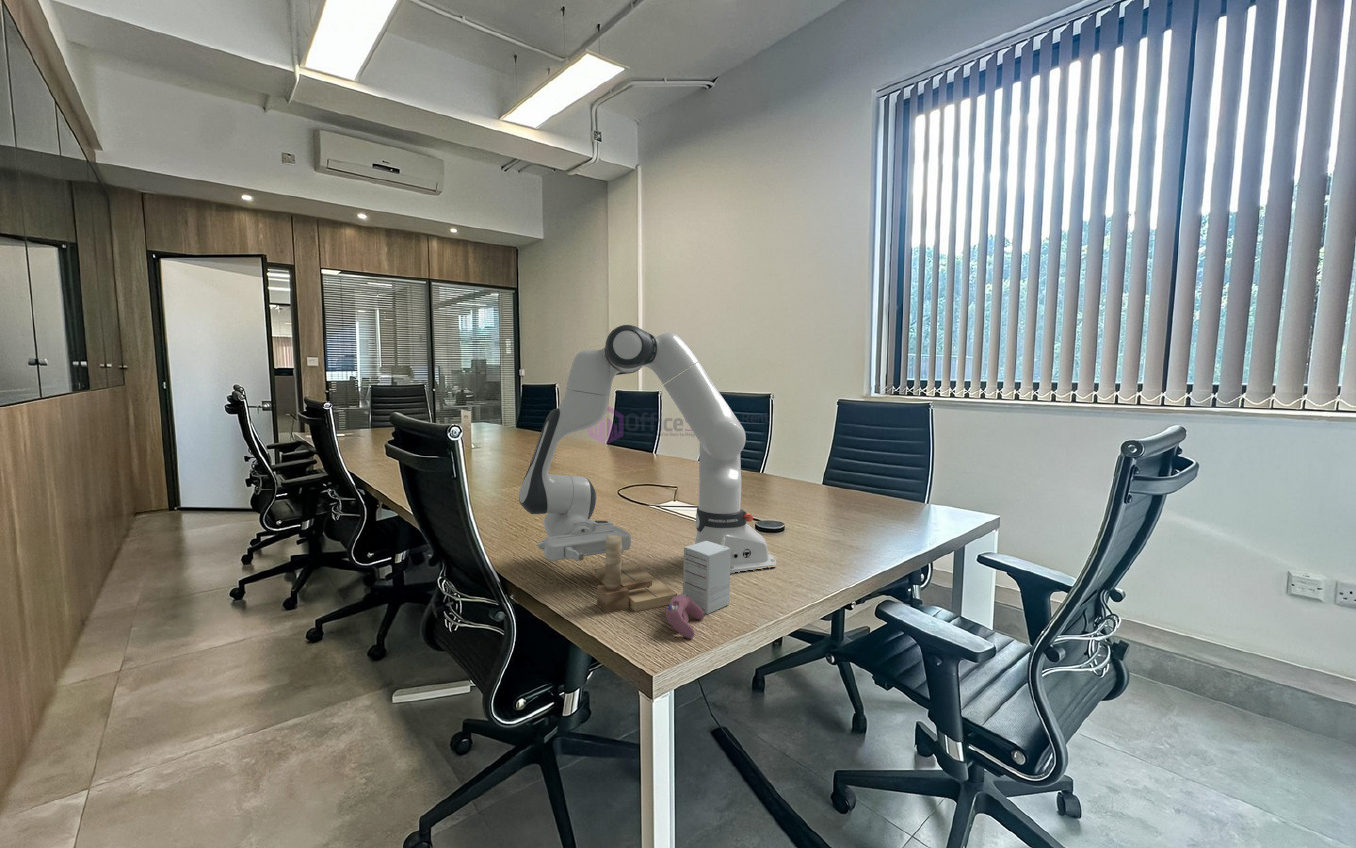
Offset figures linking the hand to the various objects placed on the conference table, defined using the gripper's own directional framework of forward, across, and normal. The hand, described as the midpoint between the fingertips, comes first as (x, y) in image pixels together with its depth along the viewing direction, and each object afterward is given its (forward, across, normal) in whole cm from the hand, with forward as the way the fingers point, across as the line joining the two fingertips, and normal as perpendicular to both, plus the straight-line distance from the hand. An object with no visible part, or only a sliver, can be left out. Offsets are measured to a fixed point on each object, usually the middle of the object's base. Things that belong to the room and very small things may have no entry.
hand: (600, 554), depth 119 cm
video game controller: (+22, +8, +10) cm, 25 cm away
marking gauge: (+7, +3, +9) cm, 12 cm away
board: (0, +8, +9) cm, 12 cm away
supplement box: (+15, +18, +10) cm, 25 cm away
